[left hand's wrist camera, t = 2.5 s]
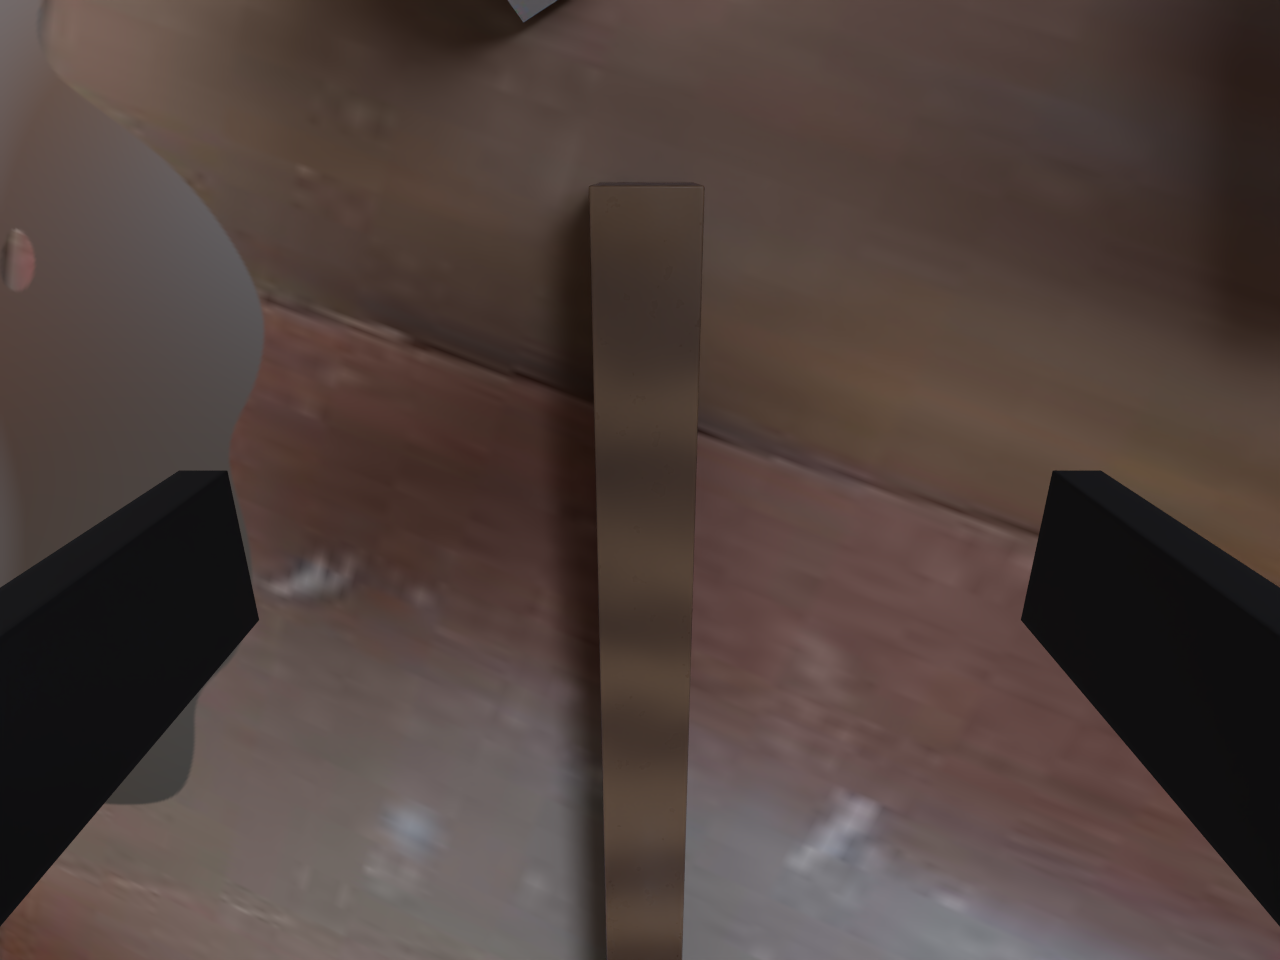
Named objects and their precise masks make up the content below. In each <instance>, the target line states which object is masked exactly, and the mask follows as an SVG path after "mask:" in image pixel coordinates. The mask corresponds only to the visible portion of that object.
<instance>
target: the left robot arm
mask: <svg viewBox="0 0 1280 960" xmlns="http://www.w3.org/2000/svg"><path fill="white" fill-rule="evenodd" d="M258 621H259V617H258V613H257V608H256V603H255V599H254V594H253V589H252V585H251V580H250V575H249V570H248V566H247V561H246V556H245V552H244V547H243V542H242V538H241V533H240V528H239V524H238V519H237V514H236V509H235V505H234V500H233V495H232V491H231V486H230V481H229V477H228V472H227V471H178V472H176V473H175V474H173V475H172V476H170V477H169V478H167V479H166V480H164V481H163V482H161V483H160V484H158V485H157V486H155V487H153V488H152V489H150V490H149V491H147V492H146V493H144V494H143V495H141V496H140V497H138V498H137V499H135V500H134V501H132V502H131V503H129V504H127V505H126V506H124V507H123V508H121V509H120V510H118V511H117V512H115V513H114V514H112V515H111V516H109V517H108V518H106V519H105V520H103V521H102V522H100V523H99V524H97V525H95V526H94V527H92V528H91V529H89V530H88V531H86V532H85V533H83V534H82V535H80V536H79V537H77V538H76V539H74V540H73V541H71V542H69V543H68V544H66V545H65V546H63V547H62V548H60V549H59V550H57V551H56V552H54V553H53V554H51V555H50V556H48V557H47V558H45V559H43V560H42V561H40V562H39V563H37V564H36V565H34V566H33V567H31V568H30V569H28V570H27V571H25V572H24V573H22V574H21V575H19V576H17V577H16V578H14V579H13V580H11V581H10V582H8V583H7V584H5V585H4V586H2V587H1V588H0V926H1V925H2V924H3V922H4V921H5V920H6V919H7V918H8V917H9V915H10V914H11V913H12V912H13V911H14V909H15V908H16V907H17V906H18V905H19V904H20V902H21V901H22V900H23V899H24V898H25V896H26V895H27V894H28V893H29V892H30V890H31V889H32V888H33V887H34V886H35V885H36V883H37V882H38V881H39V880H40V879H41V877H42V876H43V875H44V874H45V873H46V872H47V870H48V869H49V868H50V867H51V866H52V864H53V863H54V862H55V861H56V860H57V859H58V857H59V856H60V855H61V854H62V853H63V851H64V850H65V849H66V848H67V847H68V846H69V844H70V843H71V842H72V841H73V840H74V838H75V837H76V836H77V835H78V834H79V832H80V831H81V830H82V829H83V828H84V827H85V825H86V824H87V823H88V822H89V821H90V819H91V818H92V817H93V816H94V815H95V814H96V812H97V811H98V810H99V809H100V808H101V806H102V805H103V804H104V803H105V802H106V801H107V799H108V798H109V797H110V796H111V795H112V793H113V792H114V791H115V790H116V789H117V787H118V786H119V785H120V784H121V783H122V782H123V780H124V779H125V778H126V777H127V776H128V774H129V773H130V772H131V771H132V770H133V769H134V767H135V766H136V765H137V764H138V763H139V761H140V760H141V759H142V758H143V757H144V756H145V754H146V753H147V752H148V751H149V750H150V748H151V747H152V746H153V745H154V744H155V742H156V741H157V740H158V739H159V738H160V737H161V735H162V734H163V733H164V732H165V731H166V729H167V728H168V727H169V726H170V725H171V724H172V722H173V721H174V720H175V719H176V718H177V716H178V715H179V714H180V713H181V712H182V711H183V709H184V708H185V707H186V706H187V705H188V703H189V702H190V701H191V700H192V699H193V698H194V696H195V695H196V694H197V693H198V692H199V690H200V689H201V688H202V687H203V686H204V685H205V683H206V682H207V681H208V680H209V679H210V677H211V676H212V675H213V674H214V673H215V671H216V670H217V669H218V668H219V667H220V666H221V664H222V663H223V662H224V661H225V660H226V658H227V657H228V656H229V655H230V654H231V653H232V651H233V650H234V649H235V648H236V647H237V645H238V644H239V643H240V642H241V641H242V640H243V638H244V637H245V636H246V635H247V634H248V632H249V631H250V630H251V629H252V628H253V627H254V625H255V624H256V623H257V622H258ZM1021 621H1022V622H1023V623H1024V624H1025V625H1026V627H1027V628H1028V629H1029V630H1030V631H1031V632H1032V634H1033V635H1034V636H1035V637H1036V638H1037V640H1038V641H1039V642H1040V643H1041V644H1042V645H1043V647H1044V648H1045V649H1046V650H1047V651H1048V653H1049V654H1050V655H1051V656H1052V657H1053V658H1054V660H1055V661H1056V662H1057V663H1058V664H1059V666H1060V667H1061V668H1062V669H1063V670H1064V671H1065V673H1066V674H1067V675H1068V676H1069V677H1070V679H1071V680H1072V681H1073V682H1074V683H1075V685H1076V686H1077V687H1078V688H1079V689H1080V690H1081V692H1082V693H1083V694H1084V695H1085V696H1086V698H1087V699H1088V700H1089V701H1090V702H1091V703H1092V705H1093V706H1094V707H1095V708H1096V709H1097V711H1098V712H1099V713H1100V714H1101V715H1102V716H1103V718H1104V719H1105V720H1106V721H1107V722H1108V724H1109V725H1110V726H1111V727H1112V728H1113V729H1114V731H1115V732H1116V733H1117V734H1118V735H1119V737H1120V738H1121V739H1122V740H1123V741H1124V743H1125V744H1126V745H1127V746H1128V747H1129V748H1130V750H1131V751H1132V752H1133V753H1134V754H1135V756H1136V757H1137V758H1138V759H1139V760H1140V761H1141V763H1142V764H1143V765H1144V766H1145V767H1146V769H1147V770H1148V771H1149V772H1150V773H1151V774H1152V776H1153V777H1154V778H1155V779H1156V780H1157V782H1158V783H1159V784H1160V785H1161V786H1162V787H1163V789H1164V790H1165V791H1166V792H1167V793H1168V795H1169V796H1170V797H1171V798H1172V799H1173V801H1174V802H1175V803H1176V804H1177V805H1178V806H1179V808H1180V809H1181V810H1182V811H1183V812H1184V814H1185V815H1186V816H1187V817H1188V818H1189V819H1190V821H1191V822H1192V823H1193V824H1194V825H1195V827H1196V828H1197V829H1198V830H1199V831H1200V832H1201V834H1202V835H1203V836H1204V837H1205V838H1206V840H1207V841H1208V842H1209V843H1210V844H1211V846H1212V847H1213V848H1214V849H1215V850H1216V851H1217V853H1218V854H1219V855H1220V856H1221V857H1222V859H1223V860H1224V861H1225V862H1226V863H1227V864H1228V866H1229V867H1230V868H1231V869H1232V870H1233V872H1234V873H1235V874H1236V875H1237V876H1238V877H1239V879H1240V880H1241V881H1242V882H1243V883H1244V885H1245V886H1246V887H1247V888H1248V889H1249V890H1250V892H1251V893H1252V894H1253V895H1254V896H1255V898H1256V899H1257V900H1258V901H1259V902H1260V904H1261V905H1262V906H1263V907H1264V908H1265V909H1266V911H1267V912H1268V913H1269V914H1270V915H1271V917H1272V918H1273V919H1274V920H1275V921H1276V922H1277V924H1278V925H1279V926H1280V588H1279V587H1278V586H1276V585H1275V584H1273V583H1272V582H1270V581H1269V580H1267V579H1266V578H1264V577H1263V576H1261V575H1259V574H1258V573H1256V572H1255V571H1253V570H1252V569H1250V568H1249V567H1247V566H1246V565H1244V564H1243V563H1241V562H1240V561H1238V560H1237V559H1235V558H1233V557H1232V556H1230V555H1229V554H1227V553H1226V552H1224V551H1223V550H1221V549H1220V548H1218V547H1217V546H1215V545H1214V544H1212V543H1211V542H1209V541H1208V540H1206V539H1204V538H1203V537H1201V536H1200V535H1198V534H1197V533H1195V532H1194V531H1192V530H1191V529H1189V528H1188V527H1186V526H1185V525H1183V524H1182V523H1180V522H1178V521H1177V520H1175V519H1174V518H1172V517H1171V516H1169V515H1168V514H1166V513H1165V512H1163V511H1162V510H1160V509H1159V508H1157V507H1156V506H1154V505H1153V504H1151V503H1149V502H1148V501H1146V500H1145V499H1143V498H1142V497H1140V496H1139V495H1137V494H1136V493H1134V492H1133V491H1131V490H1130V489H1128V488H1127V487H1125V486H1124V485H1122V484H1120V483H1119V482H1117V481H1116V480H1114V479H1113V478H1111V477H1110V476H1108V475H1107V474H1105V473H1104V472H1102V471H1053V472H1052V477H1051V481H1050V486H1049V491H1048V495H1047V500H1046V505H1045V509H1044V514H1043V519H1042V523H1041V528H1040V533H1039V538H1038V542H1037V547H1036V552H1035V556H1034V561H1033V566H1032V570H1031V575H1030V580H1029V585H1028V589H1027V594H1026V599H1025V603H1024V608H1023V613H1022V617H1021Z"/></svg>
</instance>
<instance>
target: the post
mask: <svg viewBox="0 0 1280 960" xmlns="http://www.w3.org/2000/svg"><path fill="white" fill-rule="evenodd" d="M589 212H590V255H591V299H592V342H593V386H594V429H595V472H596V516H597V559H598V603H599V646H600V690H601V733H602V776H603V820H604V863H605V907H606V950H607V960H682V943H683V908H684V874H685V840H686V805H687V771H688V737H689V702H690V668H691V634H692V599H693V565H694V531H695V496H696V462H697V428H698V393H699V359H700V325H701V291H702V256H703V222H704V186H702V185H699V184H696V183H597V184H594V185H591V186H589Z"/></svg>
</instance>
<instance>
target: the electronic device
mask: <svg viewBox="0 0 1280 960" xmlns="http://www.w3.org/2000/svg"><path fill="white" fill-rule="evenodd" d="M556 1H557V0H508V2H509V3H510V4H511V6H512V7H513V9H514V10H515V11H516V13H517V14H518V16H519V17H520V18H521V20H522V21H523V23H524V22H525V21H527V20H528V19H530V18H531V17H533V16H534V15H536V14H537V13H539V12H540V11H542V10H543V9H545V8H546V7H548V6H549V5H551V4H552V3H554V2H556Z"/></svg>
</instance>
